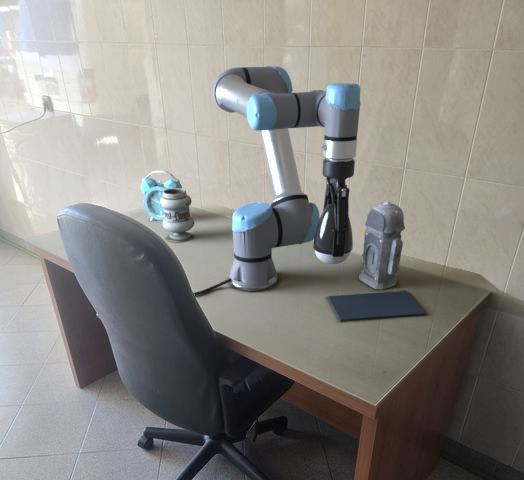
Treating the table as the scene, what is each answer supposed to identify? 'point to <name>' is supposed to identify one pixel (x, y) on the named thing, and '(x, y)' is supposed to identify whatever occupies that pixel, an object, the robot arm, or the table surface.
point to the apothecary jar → (177, 214)
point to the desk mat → (375, 306)
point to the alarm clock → (156, 194)
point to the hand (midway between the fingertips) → (333, 248)
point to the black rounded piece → (330, 238)
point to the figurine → (382, 245)
